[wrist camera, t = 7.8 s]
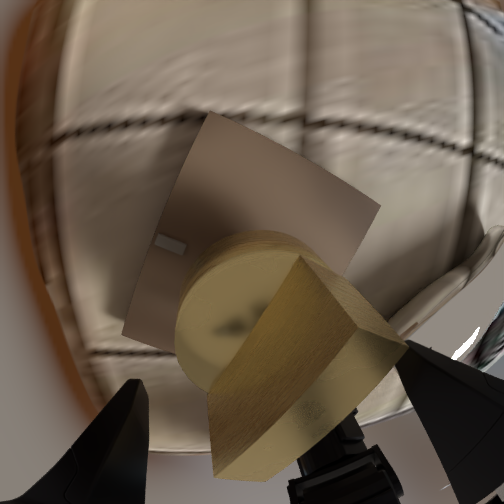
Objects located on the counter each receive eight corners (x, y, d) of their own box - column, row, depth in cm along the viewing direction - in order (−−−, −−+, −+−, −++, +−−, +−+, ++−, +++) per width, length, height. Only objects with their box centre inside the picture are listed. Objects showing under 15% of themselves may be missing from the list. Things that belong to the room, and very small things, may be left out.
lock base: (268, 366, 21) (282, 410, 17) (126, 321, 17) (110, 366, 13) (368, 200, 17) (411, 218, 13) (209, 114, 14) (210, 101, 10)
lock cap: (223, 200, 11) (250, 282, 5) (354, 269, 13) (447, 361, 7) (150, 350, 13) (132, 473, 7) (268, 386, 15) (299, 491, 9)
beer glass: (494, 277, 21) (394, 372, 22) (474, 220, 21) (363, 318, 22) (540, 288, 14) (429, 411, 15) (524, 220, 14) (401, 351, 15)
